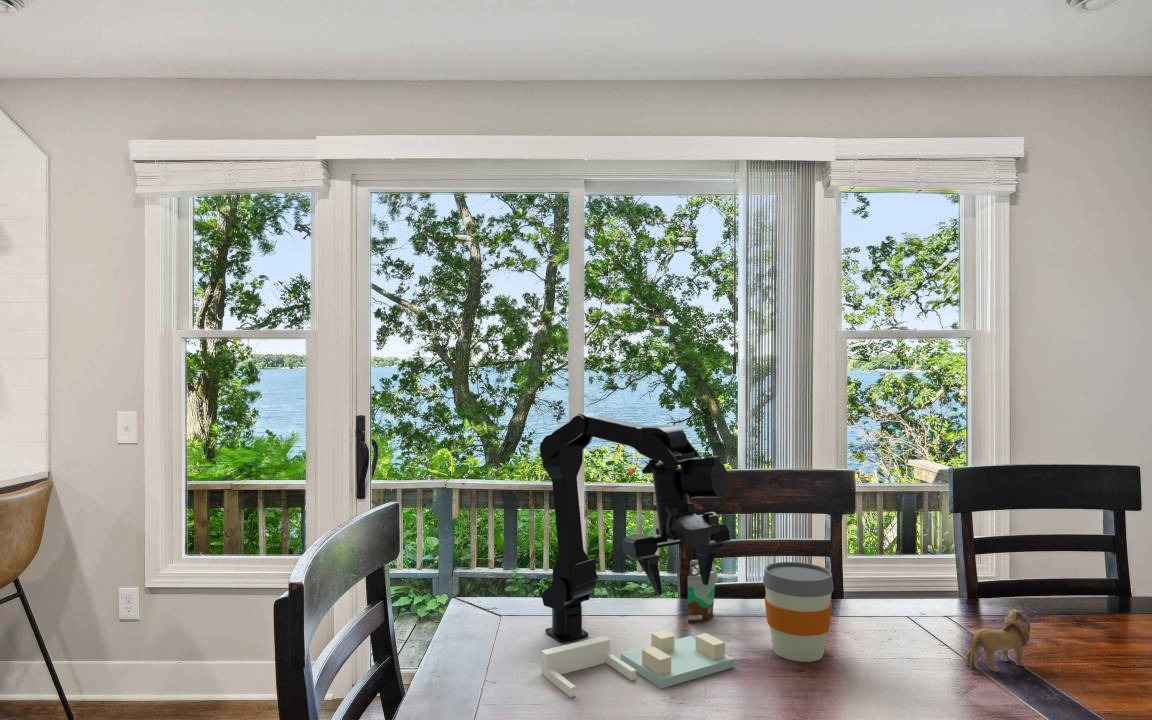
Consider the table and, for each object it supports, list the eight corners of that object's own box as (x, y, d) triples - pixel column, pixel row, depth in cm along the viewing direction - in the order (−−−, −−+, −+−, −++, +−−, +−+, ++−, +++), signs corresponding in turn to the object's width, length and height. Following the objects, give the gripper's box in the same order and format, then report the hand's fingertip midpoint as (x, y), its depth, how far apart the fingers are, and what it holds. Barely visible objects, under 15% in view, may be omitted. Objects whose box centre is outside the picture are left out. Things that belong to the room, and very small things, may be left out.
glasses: (541, 673, 123) (541, 650, 123) (604, 657, 129) (604, 635, 129) (570, 697, 114) (570, 672, 114) (636, 678, 121) (636, 655, 121)
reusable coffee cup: (836, 645, 135) (836, 566, 135) (830, 671, 124) (830, 585, 124) (769, 634, 140) (769, 558, 140) (757, 658, 129) (757, 576, 129)
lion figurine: (1009, 652, 132) (1009, 604, 132) (1038, 663, 127) (1039, 613, 127) (957, 667, 125) (957, 616, 125) (986, 679, 120) (986, 626, 120)
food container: (718, 628, 144) (718, 578, 144) (687, 625, 145) (687, 576, 145) (718, 607, 156) (718, 561, 156) (690, 605, 157) (690, 559, 157)
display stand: (620, 661, 127) (620, 639, 127) (689, 643, 135) (689, 622, 135) (661, 688, 117) (661, 664, 117) (733, 667, 125) (733, 644, 125)
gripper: (646, 509, 112) (657, 609, 111) (743, 493, 120) (755, 587, 118) (616, 504, 123) (626, 596, 121) (708, 490, 130) (718, 577, 128)
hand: (682, 589), depth 122 cm, fingers open, 9 cm apart
